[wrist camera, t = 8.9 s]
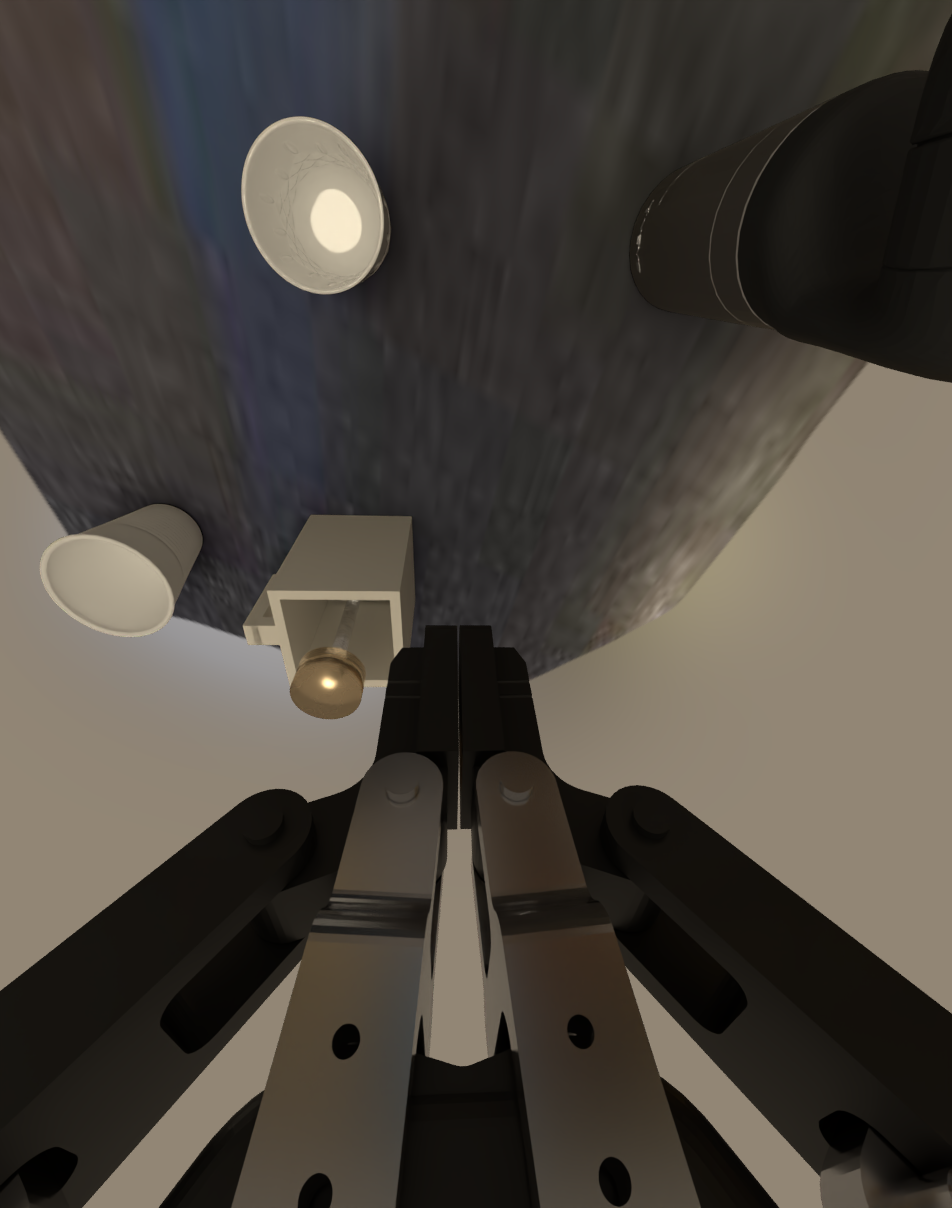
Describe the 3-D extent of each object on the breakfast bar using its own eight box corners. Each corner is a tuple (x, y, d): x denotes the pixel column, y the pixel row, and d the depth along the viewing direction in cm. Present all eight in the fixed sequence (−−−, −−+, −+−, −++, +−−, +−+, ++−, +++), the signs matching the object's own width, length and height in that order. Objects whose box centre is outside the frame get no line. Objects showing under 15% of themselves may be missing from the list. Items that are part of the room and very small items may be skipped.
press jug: (411, 516, 49) (399, 591, 38) (415, 599, 55) (405, 686, 43) (279, 514, 48) (226, 590, 37) (297, 598, 54) (255, 687, 42)
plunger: (399, 532, 49) (375, 654, 33) (403, 596, 53) (382, 730, 37) (321, 531, 48) (260, 654, 33) (331, 596, 52) (281, 731, 37)
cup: (119, 467, 45) (35, 516, 36) (230, 506, 48) (179, 561, 39) (115, 554, 50) (41, 617, 41) (217, 585, 53) (168, 651, 44)
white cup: (361, 313, 39) (337, 324, 31) (270, 233, 36) (217, 222, 28) (420, 218, 36) (411, 202, 28) (325, 122, 33) (283, 71, 25)
